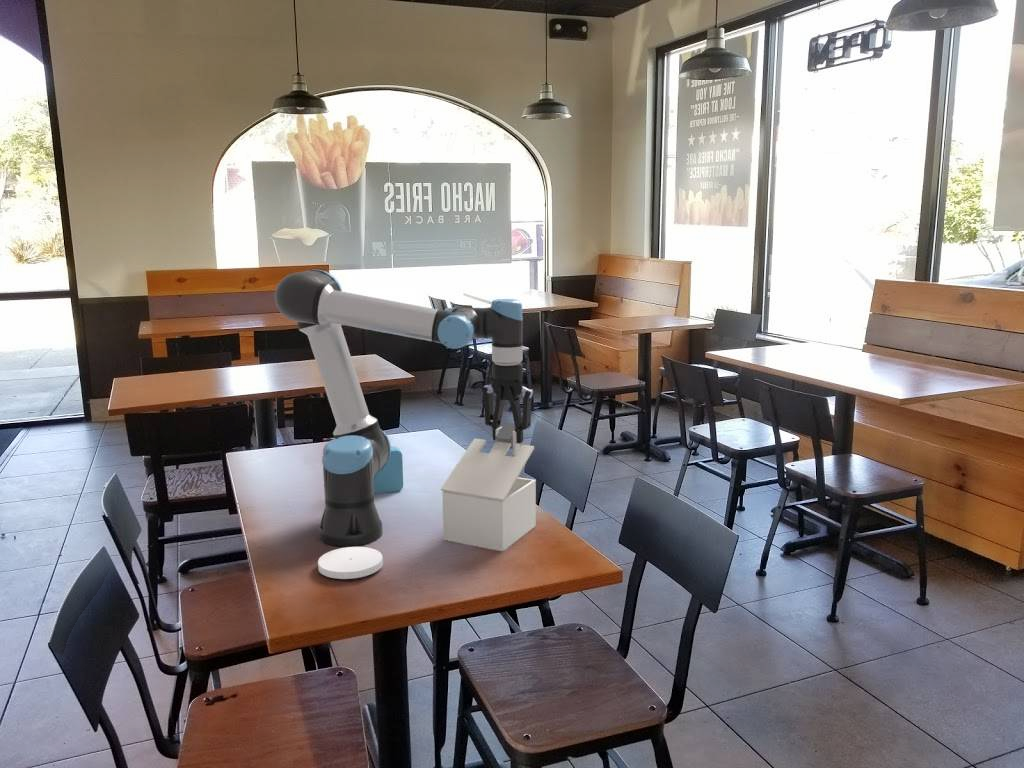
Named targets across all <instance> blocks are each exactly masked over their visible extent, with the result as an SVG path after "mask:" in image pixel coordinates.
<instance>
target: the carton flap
mask: <svg viewBox="0 0 1024 768" xmlns="http://www.w3.org/2000/svg"><path fill="white" fill-rule="evenodd" d="M501 427H502V428H501V430H500V431H499V433H498V434H497V436H496V441H495V443H494V444H493V446H492V448H491V449H490V451H489V452H488V453H487V452H483V451H481V450H483V447H484V446H485V445H486V443H487V439H481V438H473V440H472V441H471V443H470V444H469V446H468V447H467V448H466V450H465V451H464V453H463V455H462V456H461V458H460V459H459V461H458V463H456V465H455V467H454V469H453V470H452V472H451V473H450V475H449V476H448V477H447V479H446V480H445V482H444V483H443V485H442V487H441V488H440V490H441V491H442V492H444V491H446V492H452V493H458V494H464V495H470V496H476V497H482V498H488V499H494V500H500V501H504V500H505V498H506V496H507V495H508V493H509V491H510V490H511V488H512V486H513V484H514V483H515V481H516V479H517V477H519V476H520V474H521V473H522V470H523V469H524V467H525V466H526V463H527V462H528V460H529V458H531V457H530V456H531V455H532V453H533V451H534V450H535V445H528V444H520V449H519V450H518V452H517V454H516V455H515V457H513V455H512V456H511V455H507V453H508V452H509V450H510V449H513V431H514V430H515V424H514V422H506V421H505V422H504V423H503V425H502V426H501Z"/></svg>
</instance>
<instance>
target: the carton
mask: <svg viewBox="0 0 1024 768" xmlns="http://www.w3.org/2000/svg"><path fill="white" fill-rule="evenodd" d="M536 480H537V479H532V478H523V477H519V476H518V477H517V479H516V481H515V483H514V484H513V486H512V488H511V490H510V491H509V493H508V495H507V496H506V498H505V500H504V501H500V500H494V499H488V498H482V497H476V496H470V495H464V494H458V493H452V492H446V491H442V523H443V525H442V528H443V529H442V533H443V534H442V535H443V541H446V540H448V542H451V541H452V543H458V544H463V545H466V546H467V545H468V546H473V547H477V546H478V548H483V549H487V550H488V549H489V550H493V551H499V552H504V551H506V550H507V549H508V548H509V547H511V546H512V545H513V544H515V543H516V542H518V540H519V539H521V538H522V537H524V536H525V535H526V534H528V533H529V531H531V530H532V529H533V528H535V527H536V525H537V523H536V521H537V520H536V518H537V515H536V513H537V511H536V505H537V503H536V501H537V498H536V497H537V493H536V492H537V490H536V489H537V487H536V486H537V481H536Z"/></svg>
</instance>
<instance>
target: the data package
mask: <svg viewBox="0 0 1024 768" xmlns="http://www.w3.org/2000/svg"><path fill="white" fill-rule="evenodd" d="M403 459H404V458H403V453H402V451H401V450H400V448H399V447H398V446H391V453H390V457H389V460H388V462H387V463H386V465H385V467H384V468H383V469H382V470H381V471H379V472H378V473H377V475H376V476H375V477H374V478H373V487H374V494H382V492H384V493H391V492H392V491H395V492H399V491H402V489H403V488H404V467H403V466H404V465H403V464H404V463H403V462H404V461H403Z"/></svg>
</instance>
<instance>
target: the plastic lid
mask: <svg viewBox="0 0 1024 768" xmlns="http://www.w3.org/2000/svg"><path fill="white" fill-rule="evenodd" d="M383 565H384V558H383V554H382V553H381V552H380V551H379V550H377V549H374V548H371V547H367V546H366V547H365V546H346V547H341V548H336V549H333V550H329V551H327V552H326V553H323V554H322V555H321V556H320V557H319V558H318V560H317V568H318V569H317V570H318V572H319V573H320V574H321V575H323V576H325V577H327V578H331V579H339V580H350V579H359V578H364V577H367V576H369V575H372V574H374V573H376V572H378V571H379V570H381V569H382V567H383Z"/></svg>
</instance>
